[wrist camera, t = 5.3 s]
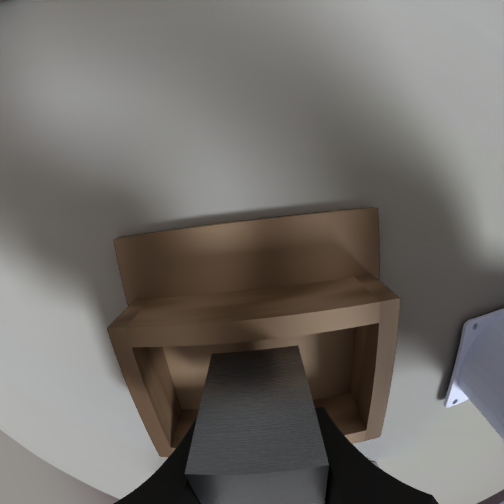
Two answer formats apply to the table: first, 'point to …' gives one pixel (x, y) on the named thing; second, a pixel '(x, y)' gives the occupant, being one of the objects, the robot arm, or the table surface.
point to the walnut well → (257, 314)
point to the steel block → (257, 432)
